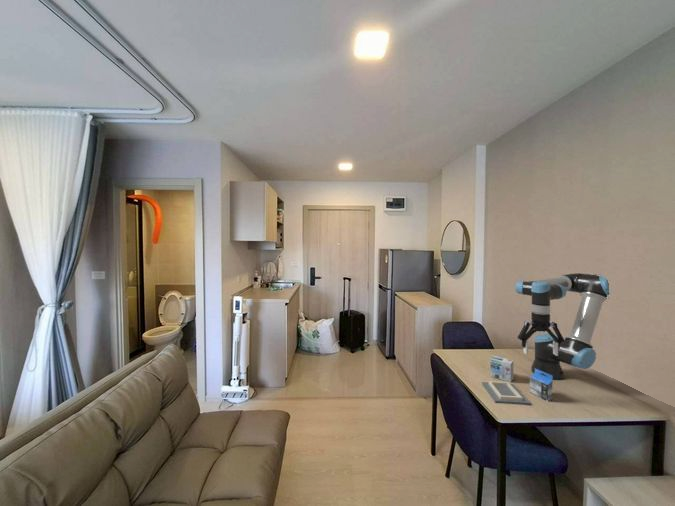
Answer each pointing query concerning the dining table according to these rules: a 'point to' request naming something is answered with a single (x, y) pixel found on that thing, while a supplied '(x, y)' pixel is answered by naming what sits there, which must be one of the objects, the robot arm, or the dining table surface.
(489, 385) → the grey platform
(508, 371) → the light bulb box
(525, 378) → the dining table surface
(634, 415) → the dining table surface
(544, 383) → the label tape cartridge
